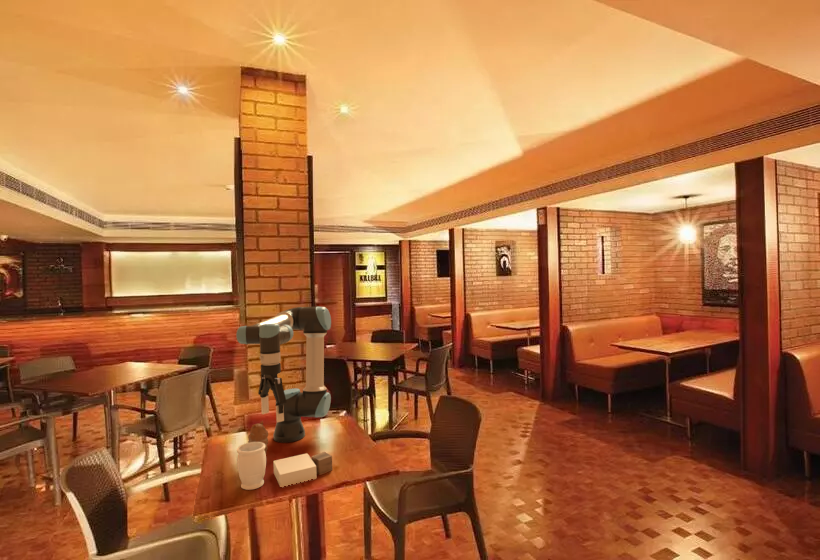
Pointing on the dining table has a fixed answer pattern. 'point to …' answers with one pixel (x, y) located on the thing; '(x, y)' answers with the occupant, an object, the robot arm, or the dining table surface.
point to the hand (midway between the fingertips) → (272, 417)
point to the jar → (251, 464)
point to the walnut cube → (322, 462)
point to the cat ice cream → (258, 434)
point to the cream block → (294, 470)
